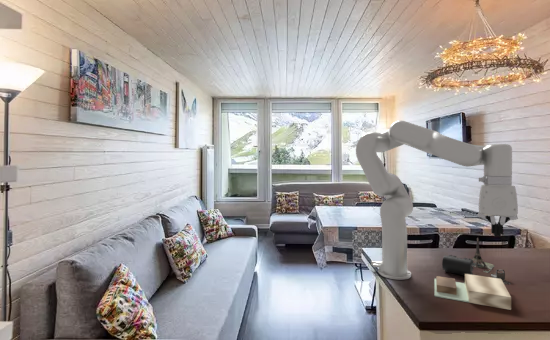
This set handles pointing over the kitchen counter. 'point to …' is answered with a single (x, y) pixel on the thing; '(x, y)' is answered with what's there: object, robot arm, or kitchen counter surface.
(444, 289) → the brown box
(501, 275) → the strap clip
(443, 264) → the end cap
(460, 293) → the mat
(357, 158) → the robot arm
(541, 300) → the kitchen counter surface
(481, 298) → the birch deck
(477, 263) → the eiffel tower figurine
